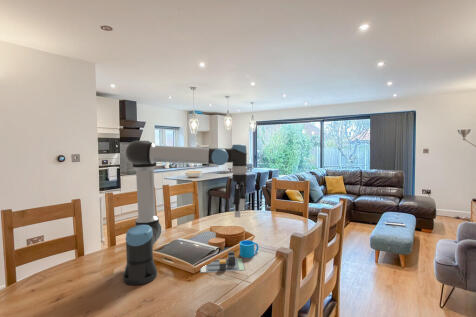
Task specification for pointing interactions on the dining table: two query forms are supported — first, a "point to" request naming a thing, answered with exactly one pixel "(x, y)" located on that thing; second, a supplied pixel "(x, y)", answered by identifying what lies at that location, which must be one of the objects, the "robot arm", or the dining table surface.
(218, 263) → the panel
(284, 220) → the dining table surface
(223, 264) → the breaker
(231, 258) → the breaker
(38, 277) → the dining table surface
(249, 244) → the mug
